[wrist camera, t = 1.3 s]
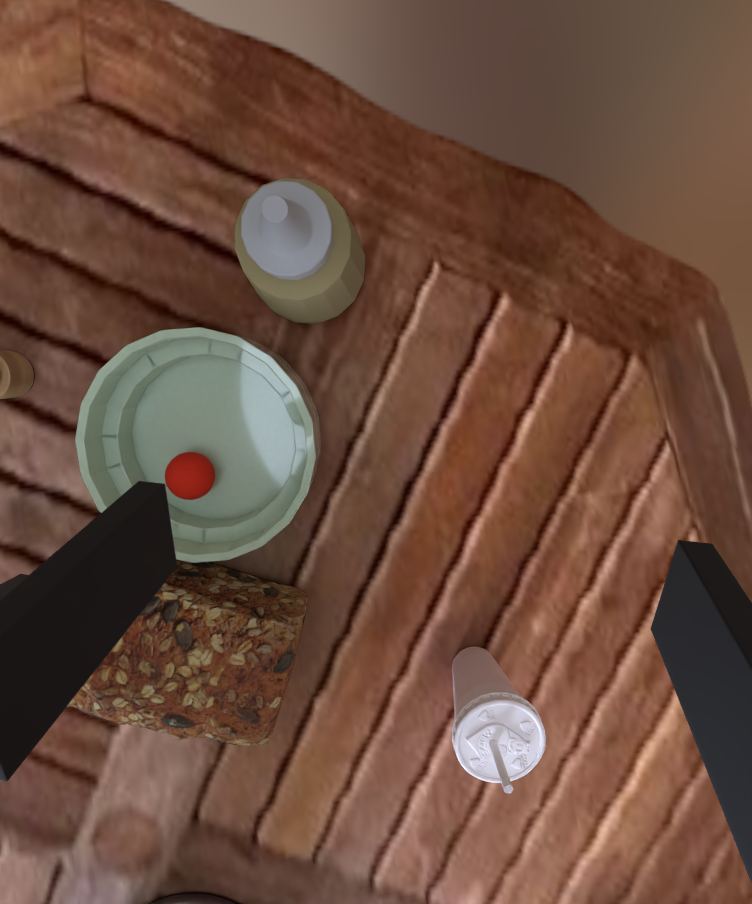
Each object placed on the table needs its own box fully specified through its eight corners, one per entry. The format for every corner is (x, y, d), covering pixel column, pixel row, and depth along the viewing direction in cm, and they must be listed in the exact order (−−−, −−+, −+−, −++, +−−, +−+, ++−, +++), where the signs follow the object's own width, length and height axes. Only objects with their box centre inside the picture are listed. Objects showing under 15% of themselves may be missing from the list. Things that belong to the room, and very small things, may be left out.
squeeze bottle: (372, 319, 43) (377, 290, 25) (268, 334, 43) (200, 315, 25) (357, 209, 42) (352, 97, 24) (250, 224, 42) (166, 123, 24)
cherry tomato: (206, 502, 44) (192, 514, 41) (166, 478, 44) (148, 489, 41) (229, 463, 44) (216, 472, 40) (188, 440, 44) (172, 446, 40)
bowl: (257, 571, 46) (241, 602, 40) (79, 471, 45) (35, 487, 39) (359, 403, 44) (358, 409, 38) (176, 291, 43) (146, 280, 37)
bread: (315, 583, 46) (301, 643, 37) (281, 697, 48) (259, 784, 38) (92, 521, 45) (16, 565, 35) (64, 639, 47) (-16, 714, 37)
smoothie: (442, 626, 47) (474, 736, 33) (517, 636, 48) (579, 749, 34) (430, 696, 48) (456, 830, 34) (503, 705, 49) (558, 842, 35)
